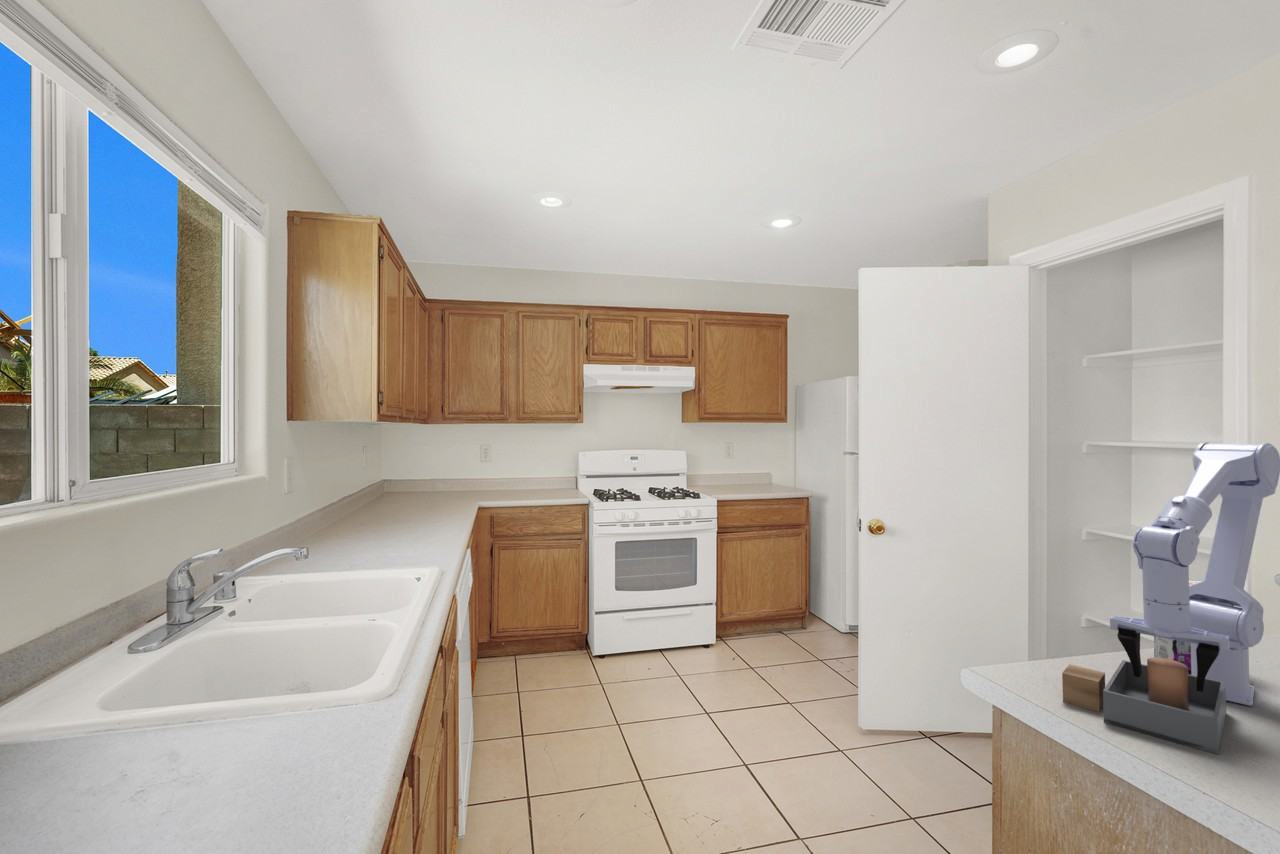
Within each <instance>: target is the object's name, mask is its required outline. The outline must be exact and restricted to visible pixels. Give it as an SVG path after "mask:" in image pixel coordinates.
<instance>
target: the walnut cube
mask: <svg viewBox="0 0 1280 854" xmlns="http://www.w3.org/2000/svg"><path fill="white" fill-rule="evenodd" d="M1061 674H1062V675H1061V679H1062V681H1061V683H1062V702H1064V703H1067V704H1071V705H1074V706H1078V707H1082V708H1084V709H1085V708H1086V709H1089V710H1093V711H1096V712H1101V710H1102V708H1103V707H1102V706H1103V690H1104V688H1105V687H1106V672H1104V671H1100V670H1096V669H1091V668H1086V667H1082V666H1078V665H1073V664H1068V665H1067V667H1066V668H1065V669H1064V670H1063V671H1062V672H1061Z"/></svg>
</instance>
